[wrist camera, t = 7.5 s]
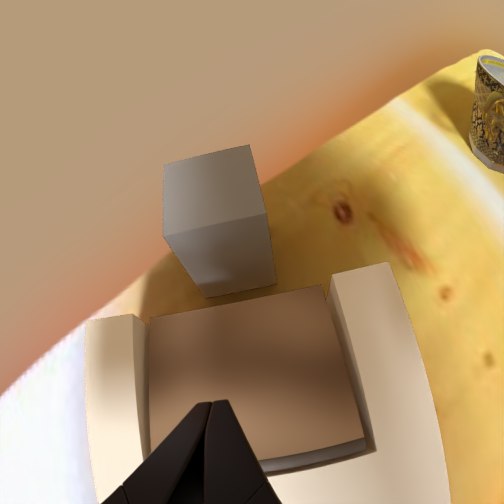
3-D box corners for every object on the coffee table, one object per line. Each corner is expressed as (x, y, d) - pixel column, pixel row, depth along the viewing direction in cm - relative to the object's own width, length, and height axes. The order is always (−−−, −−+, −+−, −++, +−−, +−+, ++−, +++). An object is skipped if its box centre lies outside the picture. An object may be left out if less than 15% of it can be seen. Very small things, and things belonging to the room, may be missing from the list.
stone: (249, 144, 17) (263, 224, 24) (164, 164, 17) (199, 238, 24) (266, 213, 14) (276, 283, 21) (162, 236, 15) (205, 298, 21)
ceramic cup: (479, 118, 29) (499, 53, 20) (536, 170, 23) (569, 106, 15) (423, 144, 27) (445, 59, 18) (494, 212, 22) (541, 130, 13)
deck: (412, 507, 12) (453, 532, 7) (161, 544, 12) (116, 574, 7) (365, 305, 20) (388, 261, 14) (134, 349, 20) (85, 320, 15)
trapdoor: (364, 450, 11) (367, 449, 10) (160, 479, 11) (153, 478, 10) (320, 292, 16) (320, 284, 16) (156, 324, 17) (150, 317, 16)
